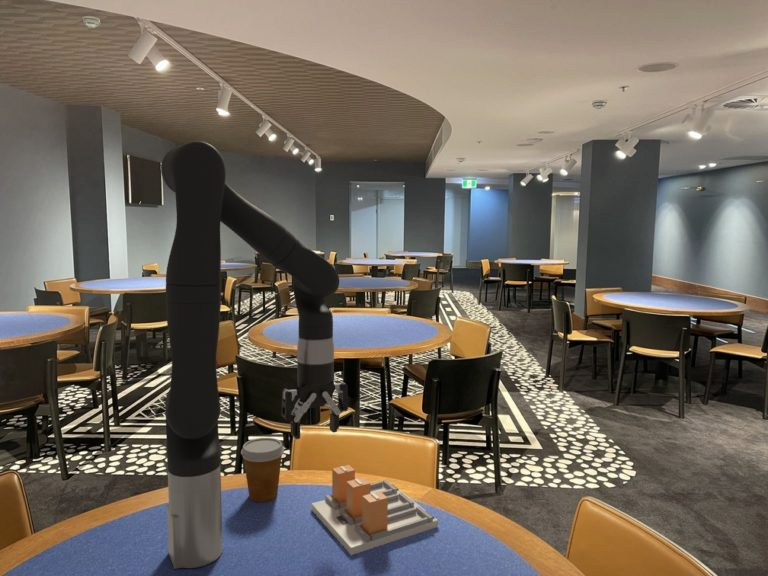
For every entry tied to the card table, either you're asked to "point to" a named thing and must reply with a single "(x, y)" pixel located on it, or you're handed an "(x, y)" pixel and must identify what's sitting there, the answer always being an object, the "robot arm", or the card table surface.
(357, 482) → the tab mid
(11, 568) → the card table surface
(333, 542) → the card table surface
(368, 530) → the tab near
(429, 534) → the card table surface
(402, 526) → the switch bank
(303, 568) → the card table surface
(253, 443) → the disposable coffee cup
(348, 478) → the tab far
